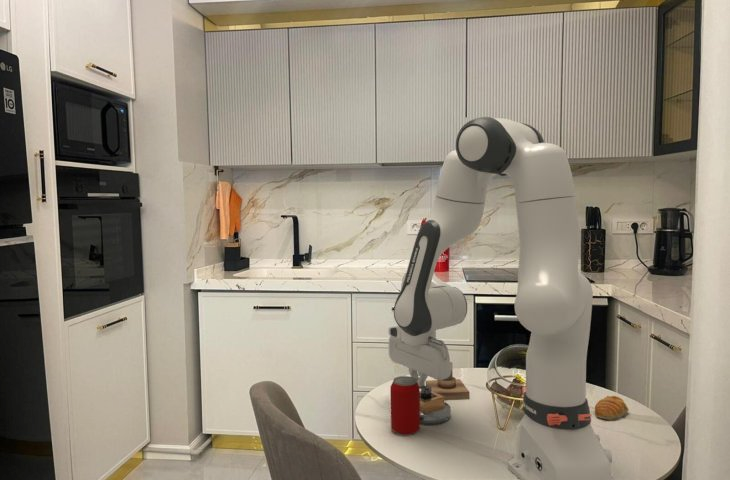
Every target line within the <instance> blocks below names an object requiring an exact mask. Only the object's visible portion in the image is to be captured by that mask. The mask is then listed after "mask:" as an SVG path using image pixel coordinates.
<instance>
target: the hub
mask: <svg viewBox="0 0 730 480" xmlns="http://www.w3.org/2000/svg"><path fill="white" fill-rule="evenodd" d="M420 391H421V394H420V398H422V399H424V400H427V399H430V398H433V397H435V396H434V395H432V394H431V387H430V386H426V385H425V386H422V387H421V389H420ZM451 407H452V406H450V404H448V402H446V401H445V408H444V409H441V410H438V411H435V412H432V413H429V414H426V415H424V414H422V413H420V426H438V425H442V424H445V423H447V422H448V421H450V420H451V418H452V417H451V415H452V414H451V413H452V410H451Z"/></svg>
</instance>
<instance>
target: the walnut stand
mask: <svg viewBox="0 0 730 480" xmlns="http://www.w3.org/2000/svg"><path fill="white" fill-rule="evenodd" d="M450 367H451V374H450V376H449V377H448V378H446V379H443V380H437V379H431V380H430V379H428V380H427V379H426V380H425V386H430V387H431V391H433V392H435V393H437V394H440V395H442V396H444V397H445V401H452V400H453V401H455V400H470V391H469V389H468V388H467V387H466V385H465V384H464V383H463V382H462V380H461V379H459V378H457V379H456V378H455V377H454V376H453V375H454V374H453V371H454V370H453V362H452V361H450Z"/></svg>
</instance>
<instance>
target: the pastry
mask: <svg viewBox="0 0 730 480" xmlns="http://www.w3.org/2000/svg"><path fill="white" fill-rule="evenodd" d="M628 412H629V407H628V406H627V404H626V403H625V400H624V399H623V398H622V397H620V396H616V395H607V396H606V397H603V398H601V399H599V401H597V403H595V406H594V416H595V418H600V419H604V420H607V421H613V420H617V419H618V420H619V419H621V418H623V417H625V415H627V414H628Z"/></svg>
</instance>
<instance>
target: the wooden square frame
mask: <svg viewBox="0 0 730 480" xmlns="http://www.w3.org/2000/svg"><path fill="white" fill-rule="evenodd" d="M420 394H421V390H420ZM431 394H432V395H434V396H435V397H433V398H430V399H427V400H424V399H422V398H420V413H422V414H424V415H426V414H429V413H432V412H435V411H438V410H441V409H444V408H445V402H446V400H445V397H444V396H442V395H440V394H437V393H435V392H433V391H431Z"/></svg>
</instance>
